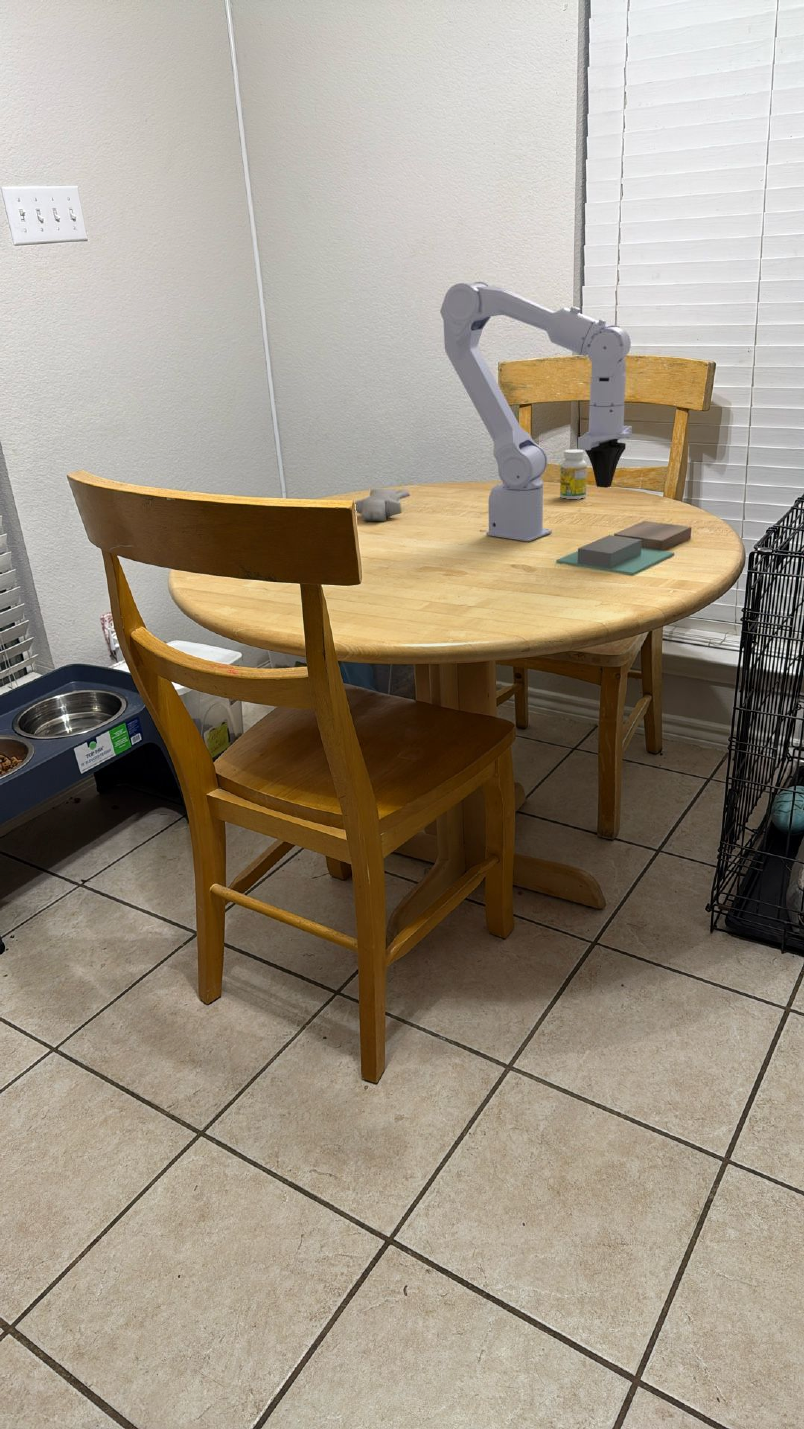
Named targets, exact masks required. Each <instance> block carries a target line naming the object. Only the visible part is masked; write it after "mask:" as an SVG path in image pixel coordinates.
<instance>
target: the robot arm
mask: <svg viewBox="0 0 804 1429" xmlns="http://www.w3.org/2000/svg"><path fill="white" fill-rule="evenodd" d="M439 312H440V315H441V318H442V320H443V342H444V343H443V344H444V350H445V353H446V356H447V357H448V360H449V361H450V362H451V364H452V366H453V368H454V371H455V372H456V374H457V375H458V378H459V380H460V382H461V383H462V385H463V387H464V389H465V391H466V393H467V394H468V397H469V398H470V400H471V402H472V404H473V406H474V407H475V409H476V411H477V414H478V415H479V417H480V419H481V421H482V422H483V425H484V426H485V428H486V429H487V432H488V433H489V435H490V438H491V440H492V441H493V456H494V458H495V461H496V462H497V471H498V476H499V478H500V480H501V481H502V483H498V484H495V485H494V486H493V488H491V491H490V493H489V497H488V531H486V533H485V535H486V536H492V537H496V538H502V539H503V538H504V539H510V540H511V539H512V540H516V541H524V542H531V541H533V540H536V539H539V538H540V537H541V538H542V537H543V536H547V535H549V534H551V533H552V532H553V529H549V528H543V526H544V523H543V519H544V515H543V514H544V481H543V479H542V475H543V474H544V473H545V471H546V469H547V467H548V456H547V453H546V452H545V450H544V449H543V448H542V447H541V446H540V445H539V444H537V443H536V442H535V441H534V440H533V438H532V436H531V434H529V433H528V432H527V431H526V430H525V429H524V428H522V426H520V424H519V422H518V420H517V418H516V416H515V414H514V412H513V411H512V409H511V407H510V404H509V403H508V400H507V399H506V398H505V395H504V394H503V392H502V390H501V388H500V386H499V383H498V382H497V380H496V378H495V376H494V375H493V373H492V371H491V369H490V367H489V364H488V363H487V361H486V359H485V358H484V356H483V354H482V352H481V350H480V348H479V342H480V338H481V336H482V333H483V329H484V328H485V326H486V325H487V324H488V322H489V320H490V318H492V317H497V316H506V317H508V318H511V319H513V320H517V321H518V322H521V323H524V324H526V325H530V326H532V327H535V328H537V329H540V330H542V331H545V332H546V333H547V336H548V338H549V340H550V342H551V344H555V345H557V346H560V347H562V348H565V349H566V350H569V351H571V352H574V353H576V354H579V355H581V356H583V357H587V356H588V359H589V361H590V362H591V373H590V385H589V387H590V388H589V389H590V390H589V409H588V410H589V411H588V412H589V414H588V431H587V432H586V433H584V434H583V435H582V436H579V437H577V438H578V440H577V442H578V443H577V449H578V450H583V451H584V453H586V455H587V457H588V459H589V461H590V465H591V468H592V471H593V476H594V480H595V485H596V487H597V488H605V489H606V488H610V487H612V484H613V480H614V476H615V474H616V473H615V472H616V469H617V467H618V463H619V460H621V459H620V458H621V457H622V455H623V453H624V451H625V450H626V446H627V444H626V442H618V441H619V440H623V439H630V438H631V439H632V437H633V436H632V433H633V426H632V425H624V424H625V423H624V422H625V400H626V383H627V375H626V368H627V365H626V364H627V360H626V359H627V358H626V357H627V356H628V355H629V352H630V349H631V344H632V342H631V338H630V337H631V336H630V335H629V333H628V332H627V331H626V330H625V329H623V328H622V327H621V326H620V325H618V324H612V325H608V326H606V324H607V320H606V319H602V318H600V319H599V320H597V319H594V318H592V317H590V316H587V315H585V314H582V313H580V312H581V308H579V307H577V306H571V307H570V308H568V307H562V308H560V309H559V310H556V311H555V310H554V311H553V310H552V309H549V308H547V307H545V306H543V305H541V304H538V303H537V302H535V301H533V300H530V299H528V298H526V297H524V296H522V295H520V294H517V293H515V292H513V291H510V290H509V289H506V288H503V287H502V286H501V287H500V286H497V285H490V284H488V283H486V282H484V281H476V282H472V283H464V282H460V283H456V284H453V285H452V286H450V288H449V289H448V290H447V291H446V293H445V295H444V298H443V301H442V305H441V307H440V311H439Z"/></svg>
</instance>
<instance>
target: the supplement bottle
mask: <svg viewBox="0 0 804 1429" xmlns="http://www.w3.org/2000/svg"><path fill="white" fill-rule="evenodd" d="M584 457H585V450H579V449H578V448H576V449H565V450H564V451H563V458H565V460H563V461H562V462H561V463H560V483H559V484H560V489H559V493H560V494H559V496H560V499H561V498H562V499H563V498H567V499H566V500H569V499H577V500H582V499H581V498H583V499H584V498H586V497H587V472H588V471H587V470H588V468H587V467H588V464H587V461H586V460H584V459H583V458H584Z"/></svg>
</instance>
